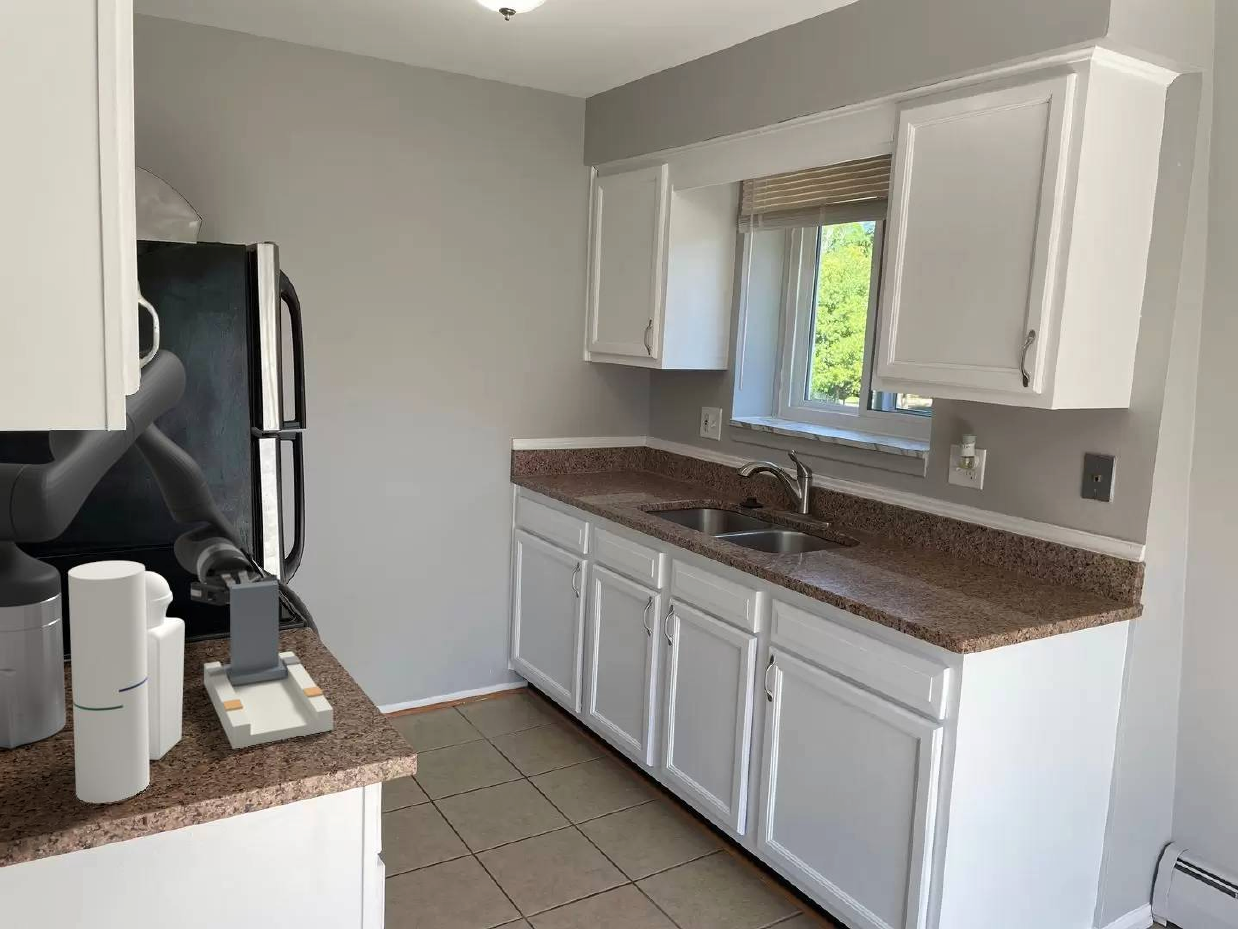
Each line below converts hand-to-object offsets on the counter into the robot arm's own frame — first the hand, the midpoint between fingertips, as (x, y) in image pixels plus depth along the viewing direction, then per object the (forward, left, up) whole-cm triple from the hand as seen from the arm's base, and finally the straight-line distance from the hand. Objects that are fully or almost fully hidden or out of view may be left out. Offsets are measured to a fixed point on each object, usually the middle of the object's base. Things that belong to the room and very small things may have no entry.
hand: (246, 604), depth 134 cm
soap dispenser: (-24, -3, -10) cm, 27 cm away
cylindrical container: (-33, -6, -10) cm, 36 cm away
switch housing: (-9, -9, -10) cm, 17 cm away
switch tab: (-5, -4, -8) cm, 10 cm away
